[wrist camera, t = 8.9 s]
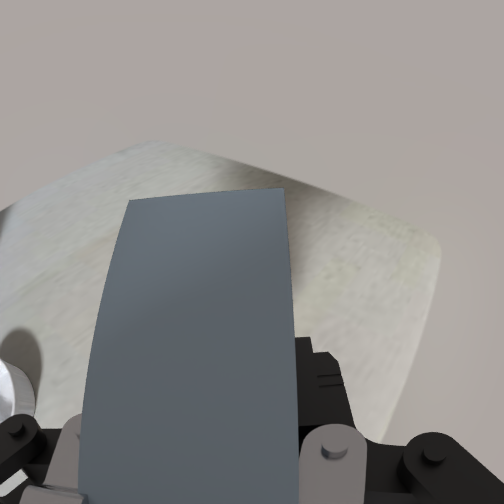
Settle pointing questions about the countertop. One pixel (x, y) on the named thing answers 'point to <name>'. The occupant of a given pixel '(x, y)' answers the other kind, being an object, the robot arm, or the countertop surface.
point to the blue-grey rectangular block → (194, 357)
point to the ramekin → (15, 392)
